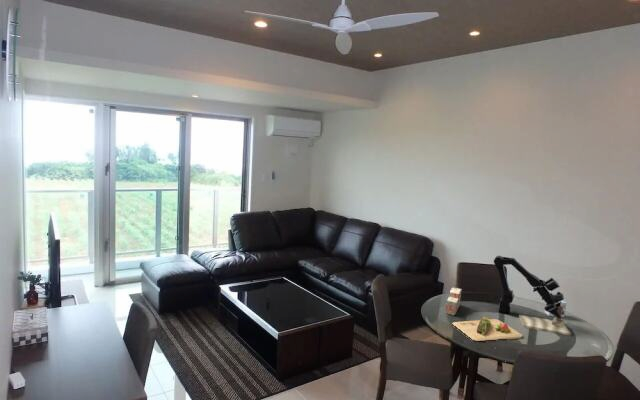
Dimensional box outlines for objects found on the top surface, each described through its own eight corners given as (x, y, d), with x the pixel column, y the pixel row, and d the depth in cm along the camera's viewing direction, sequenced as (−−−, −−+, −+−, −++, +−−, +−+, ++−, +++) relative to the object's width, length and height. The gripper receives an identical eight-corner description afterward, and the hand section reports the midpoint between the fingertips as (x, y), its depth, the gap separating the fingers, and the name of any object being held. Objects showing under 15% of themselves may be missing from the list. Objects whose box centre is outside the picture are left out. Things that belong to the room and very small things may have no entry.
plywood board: (523, 327, 245) (524, 325, 245) (518, 316, 262) (519, 314, 261) (570, 335, 238) (570, 333, 238) (562, 324, 254) (562, 322, 254)
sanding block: (551, 324, 249) (554, 307, 248) (554, 321, 254) (556, 304, 253) (562, 327, 245) (564, 310, 244) (564, 324, 250) (567, 307, 249)
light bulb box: (559, 313, 272) (562, 298, 270) (564, 317, 265) (567, 302, 264) (544, 312, 273) (546, 297, 271) (548, 316, 266) (550, 301, 265)
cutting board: (496, 321, 254) (498, 310, 252) (524, 338, 231) (525, 326, 230) (450, 325, 244) (451, 313, 243) (474, 343, 222) (475, 331, 221)
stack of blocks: (454, 315, 257) (456, 298, 255) (445, 313, 260) (447, 296, 258) (459, 305, 276) (461, 288, 274) (450, 303, 278) (452, 286, 277)
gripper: (553, 292, 242) (570, 314, 236) (559, 285, 256) (576, 306, 250) (537, 300, 249) (554, 322, 243) (544, 293, 262) (560, 314, 257)
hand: (562, 316), depth 248 cm, fingers open, 9 cm apart
